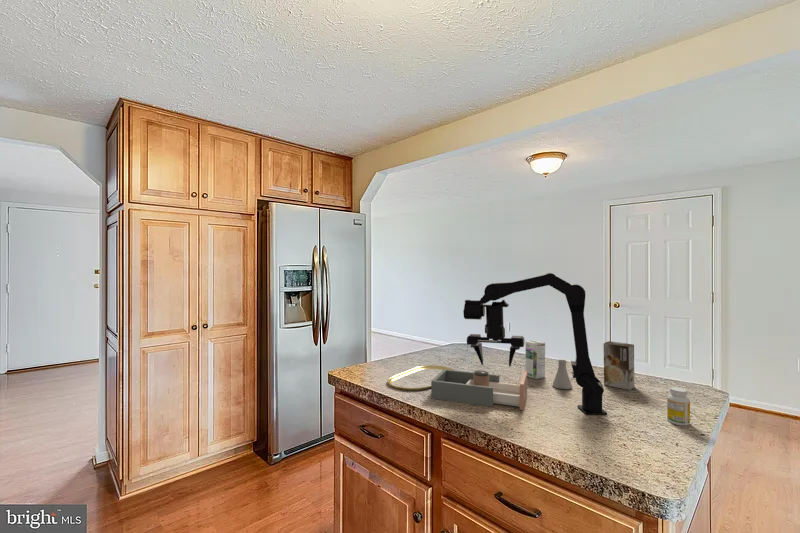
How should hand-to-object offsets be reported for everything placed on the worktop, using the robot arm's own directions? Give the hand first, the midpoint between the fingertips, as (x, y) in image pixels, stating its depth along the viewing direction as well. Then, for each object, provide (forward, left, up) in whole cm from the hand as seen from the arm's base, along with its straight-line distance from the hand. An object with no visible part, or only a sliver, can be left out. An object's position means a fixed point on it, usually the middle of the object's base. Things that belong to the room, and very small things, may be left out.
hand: (496, 365), depth 130 cm
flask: (+14, -28, -12) cm, 33 cm away
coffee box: (+16, -50, -12) cm, 53 cm away
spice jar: (+2, +5, -10) cm, 11 cm away
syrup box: (+27, -22, -12) cm, 36 cm away
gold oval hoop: (+23, +24, -12) cm, 36 cm away
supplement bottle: (-18, -49, -12) cm, 53 cm away
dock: (+3, +10, -11) cm, 15 cm away
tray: (0, 0, -11) cm, 11 cm away
